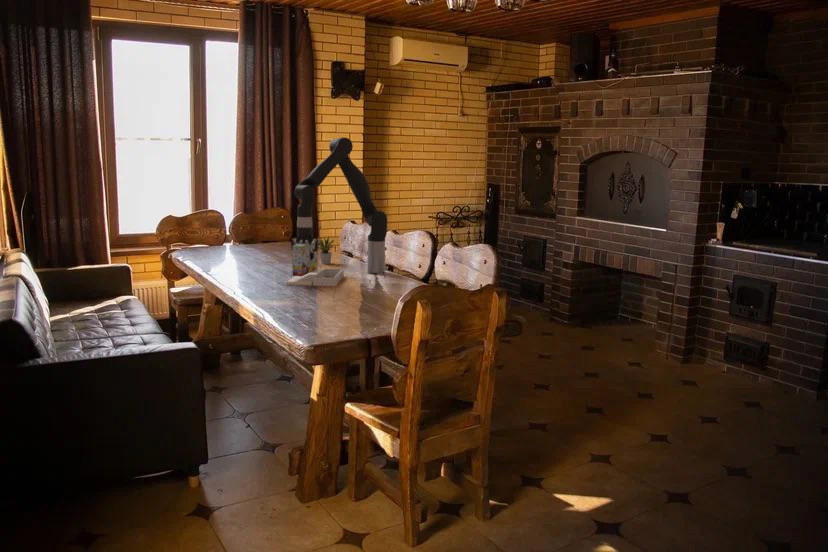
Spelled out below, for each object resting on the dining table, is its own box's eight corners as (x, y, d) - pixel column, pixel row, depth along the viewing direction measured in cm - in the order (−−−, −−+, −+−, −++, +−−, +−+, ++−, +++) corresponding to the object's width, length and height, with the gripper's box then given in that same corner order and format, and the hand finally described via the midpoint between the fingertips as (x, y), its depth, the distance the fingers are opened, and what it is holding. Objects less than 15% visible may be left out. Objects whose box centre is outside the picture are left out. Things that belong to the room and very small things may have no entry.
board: (322, 275, 359) (322, 273, 359) (311, 285, 334) (311, 282, 334) (299, 275, 360) (299, 272, 360) (287, 284, 335) (286, 281, 334)
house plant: (340, 265, 392) (340, 236, 389) (316, 266, 388) (315, 237, 386) (337, 261, 405) (337, 233, 402) (313, 262, 402) (313, 233, 399)
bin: (343, 276, 359) (343, 268, 358) (335, 286, 333) (335, 278, 332) (323, 275, 359) (323, 268, 359) (313, 285, 334) (313, 277, 333)
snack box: (303, 276, 336) (302, 245, 333) (292, 276, 337) (291, 245, 334) (317, 269, 356) (317, 240, 353) (307, 269, 357) (306, 239, 354)
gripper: (320, 225, 345) (320, 258, 348) (292, 224, 346) (292, 258, 349) (317, 227, 338) (317, 261, 341) (288, 226, 339) (288, 260, 342)
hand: (305, 259), depth 345 cm, fingers closed on snack box, 6 cm apart
